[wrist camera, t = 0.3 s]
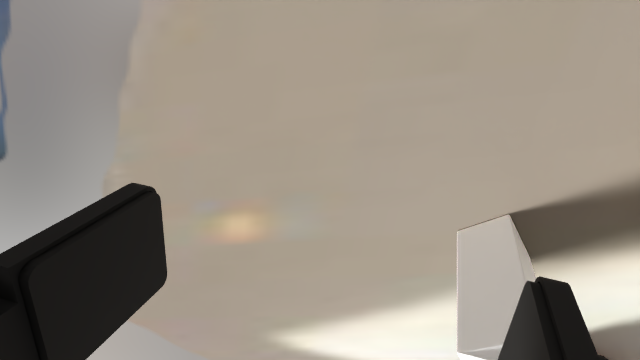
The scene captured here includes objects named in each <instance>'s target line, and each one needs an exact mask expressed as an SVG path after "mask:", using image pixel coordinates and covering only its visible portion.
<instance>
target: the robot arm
mask: <svg viewBox="0 0 640 360" xmlns="http://www.w3.org/2000/svg"><path fill="white" fill-rule="evenodd" d="M166 278H167V266H166V255H165V244H164V233H163V222H162V210H161V200H160V196H159V195H158V194H157V193H156V191H155V189H154V188H153V187H150V186H145V185H141V184H137V183H130V184H128V185H126V186H124V187H122V188H121V189H119V190H117V191H115V192H113V193H111V194H110V195H108V196H106V197H104V198H102V199H100V200H99V201H97V202H95V203H93V204H91V205H89V206H88V207H86V208H84V209H82V210H80V211H78V212H76V213H75V214H73V215H71V216H69V217H67V218H66V219H64V220H62V221H60V222H58V223H56V224H54V225H52V226H51V227H49V228H47V229H45V230H44V231H41V232H40V233H38V234H36V235H34V236H32V237H30V238H29V239H27V240H25V241H23V242H21V243H19V244H18V245H16V246H14V247H12V248H10V249H8V250H6V251H5V252H3V253H1V254H0V360H85V359H87V358H88V357H89V356H90V355H91V354H92V353H93V352H94V351H95V350H96V349H97V348H98V347H99V346H100V345H101V344H103V343H104V342H105V341H106V340H107V339H108V338H109V337H110V336H111V335H112V334H113V333H114V332H115V331H116V330H117V329H118V328H119V327H120V326H121V325H122V324H124V323H125V322H126V321H127V320H128V319H129V318H130V317H131V316H132V315H133V314H134V313H135V312H136V311H137V310H138V309H139V308H140V307H141V306H142V305H144V304H145V303H146V302H147V301H148V300H149V299H150V298H151V297H152V296H153V295H154V294H155V293H156V292H157V291H158V290H159V289H160V288H161V287H162V286H163V285H164V283H165V281H166ZM498 360H608V359H607V358H605V357H604V356H601V355H598V354H597V352H596V349H595V347H594V344H593V342H592V339H591V337H590V335H589V332H588V330H587V327H586V325H585V322H584V320H583V317H582V315H581V312H580V310H579V307H578V305H577V302H576V300H575V297H574V295H573V292H572V290H571V287H570V285H569V284H568V283H565V282H561V281H557V280H552V279H548V278H544V277H537V279H536V280H535V282H532V281H527V282H526V283H525V285H524V288H523V290H522V293H521V296H520V299H519V301H518V304H517V307H516V310H515V313H514V315H513V318H512V321H511V324H510V327H509V329H508V332H507V335H506V338H505V340H504V343H503V346H502V349H501V352H500V354H499V357H498Z"/></svg>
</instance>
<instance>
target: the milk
mask: <svg viewBox="0 0 640 360" xmlns="http://www.w3.org/2000/svg"><path fill="white" fill-rule="evenodd" d="M535 280H536V277H535V273H534V270H533V266H532V263H531V259H530V257H529V254H528V252H527V250H526V248H525V246H524V244H523V242H522V240H521V238H520V236H519V234H518V231H517V229H516V227H515V225H514V223H513V221H512V219H511V217H510V215H509V214H508V215H505V216H502V217H499V218H496V219H493V220H490V221H487V222H484V223H481V224H478V225H474V226H471V227H468V228H465V229H462V230H459V231H457V354H458V355H459V357H460V359H461V360H498V357H499V354H500V352H501V349H502V346H503V343H504V340H505V338H506V335H507V332H508V329H509V327H510V324H511V321H512V318H513V315H514V313H515V310H516V307H517V304H518V301H519V299H520V296H521V293H522V290H523V288H524V285H525V283H526V282H527V281H532V282H535Z"/></svg>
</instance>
